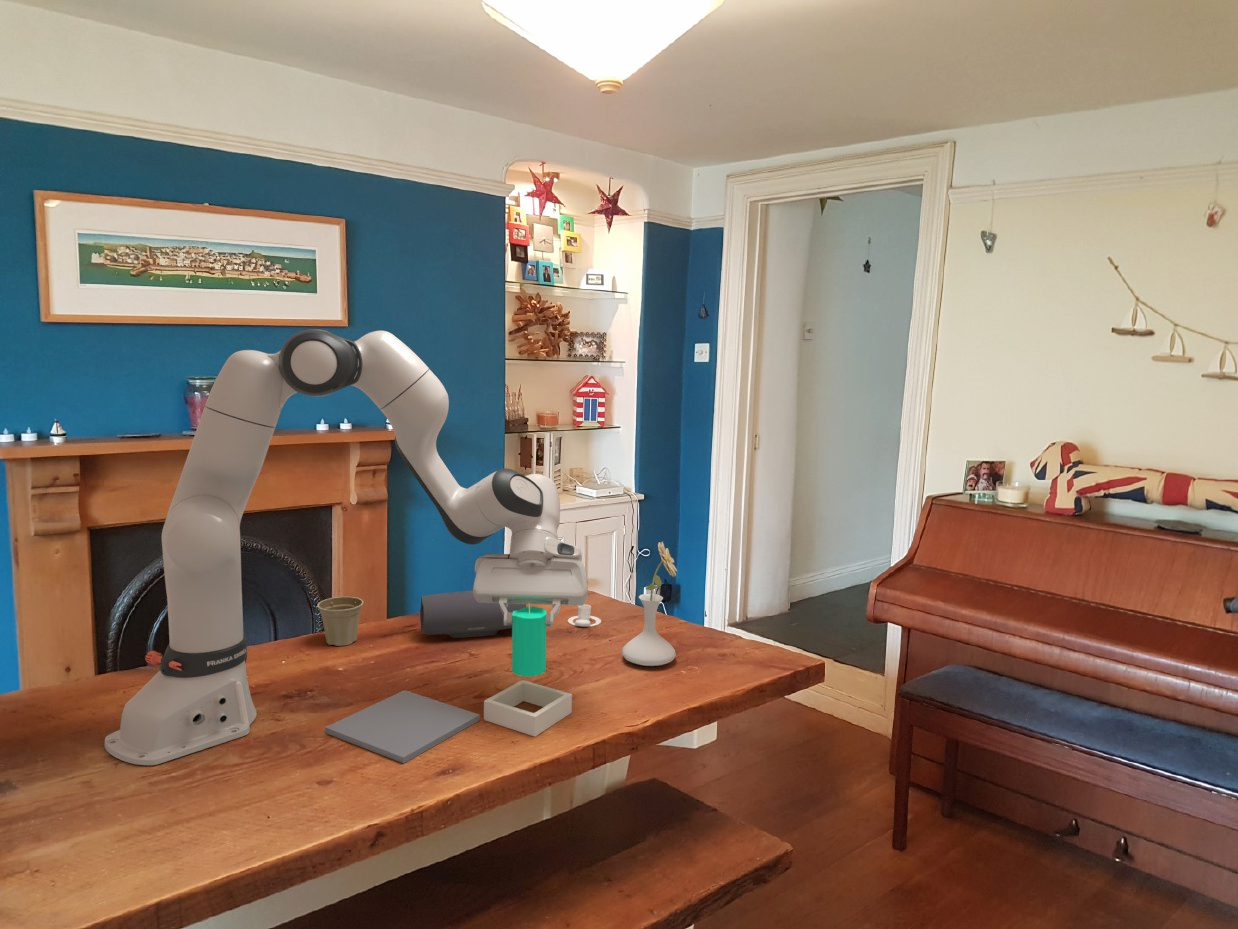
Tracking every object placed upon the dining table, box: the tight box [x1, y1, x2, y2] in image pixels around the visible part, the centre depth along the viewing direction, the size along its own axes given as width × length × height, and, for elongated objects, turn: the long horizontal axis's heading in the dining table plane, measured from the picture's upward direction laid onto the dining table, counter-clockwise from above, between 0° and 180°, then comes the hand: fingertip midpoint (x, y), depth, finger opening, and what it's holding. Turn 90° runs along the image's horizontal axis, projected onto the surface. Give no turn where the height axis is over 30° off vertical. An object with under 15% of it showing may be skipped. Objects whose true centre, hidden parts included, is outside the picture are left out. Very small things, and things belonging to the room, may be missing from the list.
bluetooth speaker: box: [419, 590, 527, 639], centre depth 183 cm, size 23×9×10 cm, turn 108°
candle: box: [511, 604, 547, 677], centre depth 142 cm, size 6×6×12 cm
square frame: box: [483, 679, 573, 737], centre depth 144 cm, size 11×11×4 cm
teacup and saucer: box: [567, 603, 602, 628], centre depth 195 cm, size 9×8×4 cm
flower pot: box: [317, 596, 364, 647], centre depth 176 cm, size 9×9×9 cm
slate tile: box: [324, 689, 481, 764], centre depth 139 cm, size 18×18×1 cm
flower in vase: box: [621, 541, 678, 667], centre depth 171 cm, size 13×11×25 cm
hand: (528, 624), depth 141 cm, fingers closed on candle, 6 cm apart
